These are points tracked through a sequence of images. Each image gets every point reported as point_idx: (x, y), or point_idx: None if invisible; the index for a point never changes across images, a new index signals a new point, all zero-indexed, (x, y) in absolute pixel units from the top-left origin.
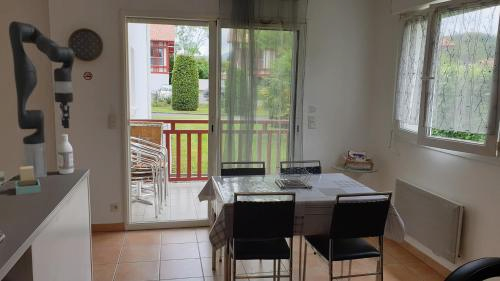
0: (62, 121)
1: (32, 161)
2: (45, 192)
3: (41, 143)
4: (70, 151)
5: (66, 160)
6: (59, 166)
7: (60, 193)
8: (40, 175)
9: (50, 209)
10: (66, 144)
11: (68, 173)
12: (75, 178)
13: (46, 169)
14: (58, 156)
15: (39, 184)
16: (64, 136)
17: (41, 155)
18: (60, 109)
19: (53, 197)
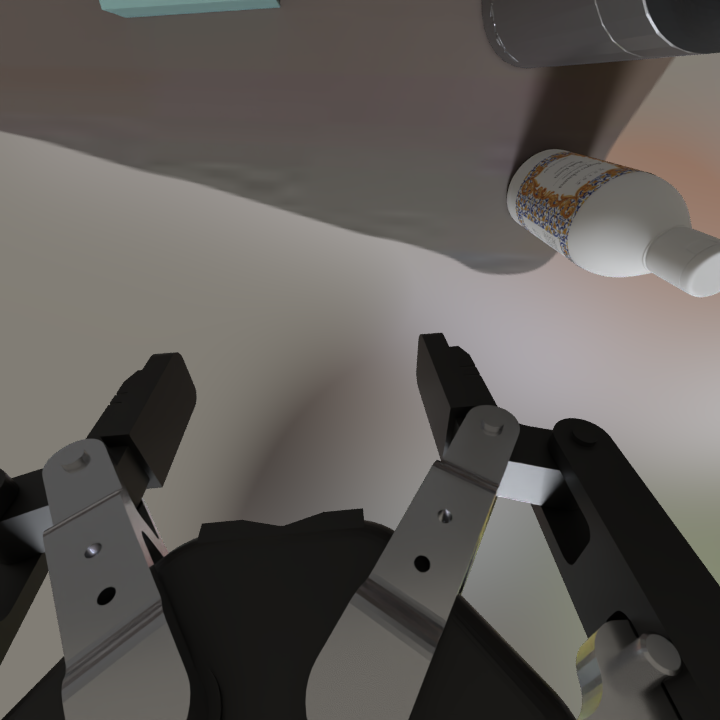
0: (434, 377)
1: None
2: (142, 49)
3: (644, 6)
4: (571, 256)
5: (540, 211)
6: (557, 158)
7: (116, 138)
8: (489, 18)
9: None
10: (617, 252)
11: (507, 198)
12: (394, 225)
13: (542, 66)
14: (601, 167)
15: (126, 2)
16: (683, 267)
17: (563, 16)
18: (87, 660)
19: (36, 97)
